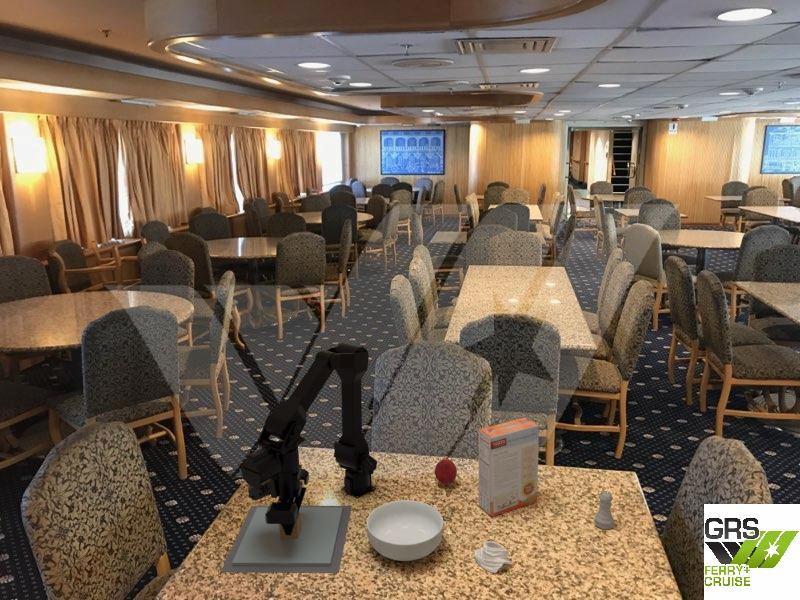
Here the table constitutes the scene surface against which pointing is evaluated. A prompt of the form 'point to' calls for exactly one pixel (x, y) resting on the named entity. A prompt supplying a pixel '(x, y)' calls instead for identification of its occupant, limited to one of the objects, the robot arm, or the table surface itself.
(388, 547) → the cereal bowl
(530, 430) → the cracker box
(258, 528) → the lid
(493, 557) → the whipped cream
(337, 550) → the mat
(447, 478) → the onion
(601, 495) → the grey chess piece
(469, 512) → the table surface
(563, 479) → the table surface
